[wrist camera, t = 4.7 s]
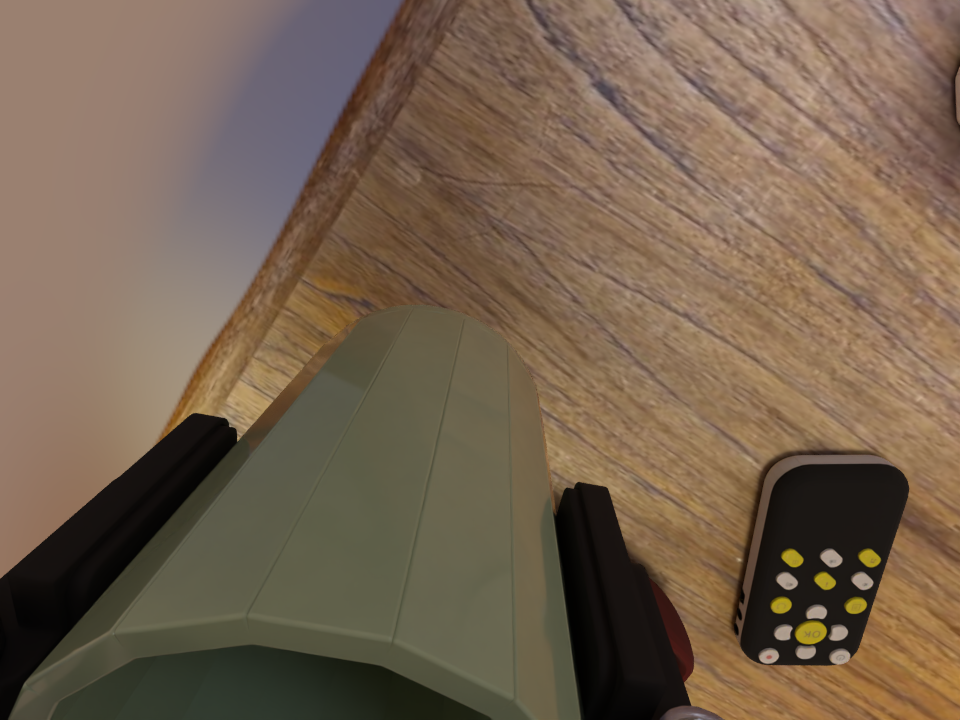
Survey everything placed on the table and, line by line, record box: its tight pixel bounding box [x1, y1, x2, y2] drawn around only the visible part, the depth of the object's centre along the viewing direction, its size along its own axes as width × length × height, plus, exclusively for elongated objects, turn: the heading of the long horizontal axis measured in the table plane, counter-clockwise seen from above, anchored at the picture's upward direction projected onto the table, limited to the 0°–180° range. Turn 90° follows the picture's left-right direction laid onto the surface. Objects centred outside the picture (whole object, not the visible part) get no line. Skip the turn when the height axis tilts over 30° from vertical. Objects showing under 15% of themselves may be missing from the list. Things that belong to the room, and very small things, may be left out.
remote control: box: [734, 455, 909, 666], centre depth 27 cm, size 6×13×2 cm, turn 2°
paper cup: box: [8, 305, 586, 720], centre depth 10 cm, size 6×6×9 cm
